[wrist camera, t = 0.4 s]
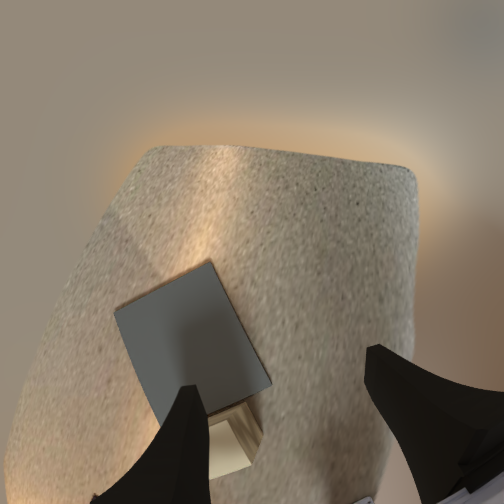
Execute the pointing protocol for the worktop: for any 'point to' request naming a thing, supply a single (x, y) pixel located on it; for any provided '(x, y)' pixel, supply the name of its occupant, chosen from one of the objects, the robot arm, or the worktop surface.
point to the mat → (190, 344)
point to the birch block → (232, 440)
